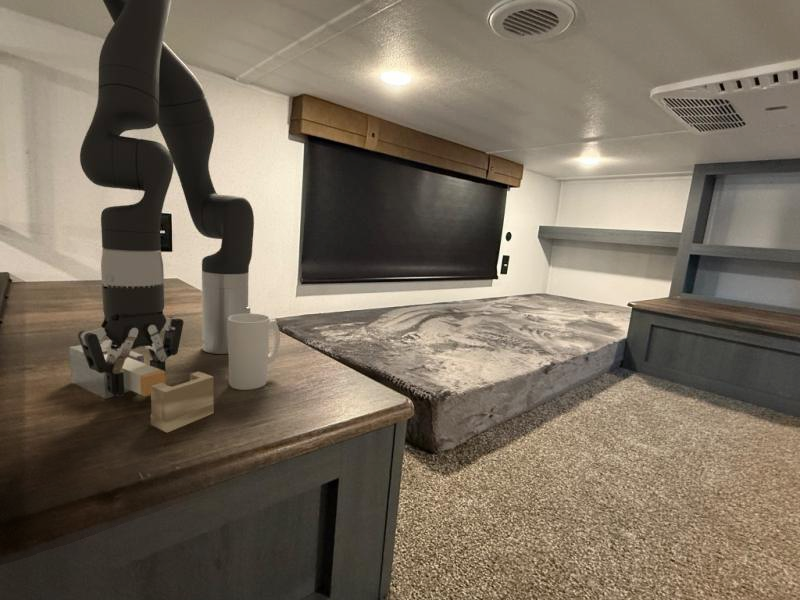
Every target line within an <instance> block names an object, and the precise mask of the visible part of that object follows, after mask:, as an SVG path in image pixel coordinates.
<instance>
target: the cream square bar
mask: <svg viewBox="0 0 800 600" xmlns="http://www.w3.org/2000/svg"><path fill="white" fill-rule="evenodd" d="M103 355H104V358H105V360H106V358H107V355H108V354H107V351H104V352H103ZM121 372H123V375H124V387H125V388H127V389H129V390H132V391H131V392H134V393H135V394H138V395H141V396H143V397H148V396H151V386H152V385H156V384H159V383H163V384H165V385H166V376H165V373H166V372H165V371H163V370H161V369H158V368H155V367H153V366H150V364H148V363H145V362H144V363H142V362H139V361H137V360H134V359H131V358H129V357H128V358H126V359H125V362H124V364H123V367H122V370H121Z"/></svg>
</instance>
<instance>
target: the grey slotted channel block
mask: <svg viewBox="0 0 800 600" xmlns="http://www.w3.org/2000/svg"><path fill="white" fill-rule="evenodd" d="M110 341H111V340H110V339H106V340H103V343H102V344H100V346H101V349H102V352H104V351H107V349H108V346H109V344H110ZM68 348H69V359H70V373H71V374H70V375H71V383H72V384H74V385H75V386H78V387H80V388H82V389H84V390H86V391H89V392H90V393H93V394H95V395H96V396H99V397H100V398H103V399H104V400H105V399H108V398H112V397H115V396H114V395H112V393H110V392H108V390H107V382H106V372H104V373H99V372H97V371H96V370H93V369H90V368H89V365H88V363H87V360H86V357H85V354H84V352H83V349H82V346H81V344H78V345H74V346H72V345H71V346H69V347H68ZM120 348H121V347H119V349H120ZM128 357H129V358H131V359H134V360H137V361H139V362H142V363H145V361H144V354H141V353H138V352H136V351H133V350H131V351H130V354H129V356H128ZM129 392H133V391H132V390H129V389H127V388H125V387H124V394H125V393H129Z"/></svg>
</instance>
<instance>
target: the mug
mask: <svg viewBox="0 0 800 600" xmlns="http://www.w3.org/2000/svg"><path fill="white" fill-rule="evenodd" d="M270 330H271V331H272V332H273V335H274V337H273V338H274V340H273V345H272V348H271V350H270V351H269V349H270V348H269V346H270V345H269V344H270ZM280 343H281V332H280V328H279V326H278V323H277V319H275V318H274V319H271V317H270V316H269V315H267V314H260V313H250V314H237V315H232V316H230V317H228V349H229V354H228V381H229V383H228V384H229V387H231V388H232V389H235V390H239V391H240V390H242V391H249V390H256V389H257V390H258V389H260V388H262V387H264V386H265V385H267V383H268V368H269V364H270V363H274V362H275V361H276V358H277V354H278V351H279V348H280V345H281V344H280Z"/></svg>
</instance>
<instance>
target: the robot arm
mask: <svg viewBox="0 0 800 600" xmlns="http://www.w3.org/2000/svg"><path fill="white" fill-rule="evenodd" d="M102 1H103V3H104V6H105V7H106V9H107V11H108V14H109V15H110V17H111V20H112V21H113V23H114V24H113V25H112V27H111V28H110V30H109V31H108V34H107V35H106V38H105V40H104V42H103V44H102V45H101V46H102V47H101V50H100V53H99V59H98V82H97V83H98V84H97V85H98V87H97V89H98V92H97V93H98V95H97V103H96V107H95V111H94V114H93V117H92V120H91V121H90V122H91V123H90V125H89V127H88V130H87V131H86V133H85V136H84V138H83V141H82V144H81V146H80V151H79V162H80V166H81V170H82V171H83V173H84V175H85V176H86V177H87V179H88V180H89V181H90V182H92V183H93V184H94V185H96V186H99V187H102V188H103V187H104V188H111V189H121V190H123V189H124V190H130V191H142V192H144V193H143V196H142V198H141V199H140V200H139V201H138V202H136V203H133V204H127V205H126V204H124V205H114V206H109V207H106V208H104V209H103V210H102V211H101V214H100V216H101V217H100V225H101V226H100V227H101V230H100V232H101V248H102V251H101V253H102V254H101V261H100V272H101V273H100V275H101V291H102V294H101V295H102V311H103V315H104V319H103V321H102V322H101V326H100V327H97V328H95V329H92V330H81V331H79V332H78V333H77V338H78V340H79V343H80V345H81V346H82V349H83V352H84V354H85V357H86V360H87V363H88V365H89V368H90V369H93V370H96V371H97V372H99V373H104V372H106V382H107V390H108V392H110V393H112V395H114V396H113V397H116V398H120V397H123V396H125V393H124V375H123V372H121V370H122V367H123V364H124V362H125V359H126V358H128V356H129V354H130V351H132V350H134V349H137V348H139V347H144V348H145V349H146V350H147V353H148V355H149V356H150V358H151V360H149V365H150V366H153V367H155V368H158V369H161V370H163V371H165V377H166V374H167V373H166V361H167V360H168V358H170V357H171V356H176V355H177V354H178V352H179V348H180V342H181V336H182V334H183V333H182V332H183V328H184V320H183V319H182V318H178V317H175V316H169V317H166V316H165V315H164V310H165V286H164V285H165V284H164V283H165V280H164V277H165V274H164V263H163V262H164V261H163V257H162V255H163V254H162V243H161V242H162V240H161V228H162V227H161V224H162V223H161V222H162V214H163V209H164V205H165V200H166V198H167V197H166V196H167V193H168V190H169V187H170V185H171V181H172V178H173V174H174V167H175V171H176V173H177V177H178V179H179V181H180V186H181V188H182V192H183V195H184V198H185V202H186V205H187V208H188V212H189V215H190V218H191V220H192V223H193V225H194V227H195V229H196V230H197V231H198V232H199V234H200V235H202V236H204V237H206V238H209V239H213V240H214V239H216V240H221V245H220V248H219V249H218V251H216V252H215V253H212V254H208V255H206V256H205V257H203V258H202V260H201V311H202V312H201V322H202V323H201V325H202V326H201V327H202V328H201V330H202V331H201V333H202V334H201V335H202V337H201V340H202V345H201V346H202V351H204V352H206V353H208V354H209V353H210V354H217V355H218V354H219V355H229V349H228V317H230V316H232V315H237V314H251V307H250V306H249V274H250V273H249V271H250V270H249V269H250V263H251V260H252V257H253V242H254V241H253V240H254V229H255V216H254V210H253V208H252V205H251V203H250V201H248V200H247V199H246V198H245V197H243V196H239V195H230V194H229V195H227V194H226V195H225V194H218V193H217V191H216V189H215V187H214V183H213V181H212V178H211V174H210V168H209V167H210V166H209V164H210V163H209V162H210V158H211V157H210V155H211V152H212V148H213V143H214V138H215V122H214V118H213V115H212V111H211V109H210V106H209V103H208V100H207V97H206V94H205V91H204V88H203V87H202V84H201V83H200V81H199V79H198V78H197V77H196V75H195V74H194V73H193V72H192V71H191V69H189V68H188V66H187V65H186V64H185V63H184V62H183V61H182V60H181V58H180V57H178V56H177V54H175V52H174V51H173V50H172V49H171V48H170V47H169V46H168V45H167V44H166V42H165V41H164V38H165V33H166V29H167V25H168V19H169V15H170V9H171V5H172V0H102ZM155 126H157V127H158V129H159V131H160V133H161V135H162V137H163V140H164V142H165V145H166V146H164V144H162V143H161V142H158V141H154V140H149V139H143V138H137V137H129V136H125V135H124V136H123V135H122V134H123V133H125V132H128V131H137V130H147V129H152V128H154V127H155ZM163 329H164V335H163V340H162V339H161V337H160V333H161V331H162V330H163ZM105 336H106V337H107V338H108V340H111V341H110V344H109V346H108V349H107V354H108V355H107V358H106V360H105V358H104V355H103V352H102V349H101V346H100V344H102V343H103V341H104V337H105ZM119 347H121V348H120V349H119Z"/></svg>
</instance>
